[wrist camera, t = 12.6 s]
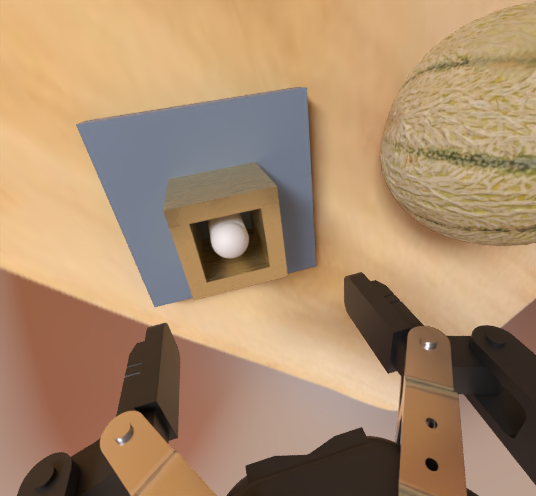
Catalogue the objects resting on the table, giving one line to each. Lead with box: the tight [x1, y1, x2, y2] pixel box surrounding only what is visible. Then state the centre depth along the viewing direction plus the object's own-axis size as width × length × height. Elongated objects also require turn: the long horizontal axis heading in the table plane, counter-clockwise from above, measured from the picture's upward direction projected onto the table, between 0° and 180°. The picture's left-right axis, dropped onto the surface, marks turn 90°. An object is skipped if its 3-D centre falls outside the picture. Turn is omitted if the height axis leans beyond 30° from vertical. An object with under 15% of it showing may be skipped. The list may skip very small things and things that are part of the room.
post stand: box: [76, 87, 316, 307], centre depth 21 cm, size 15×15×8 cm
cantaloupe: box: [380, 1, 536, 246], centre depth 20 cm, size 15×15×15 cm
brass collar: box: [163, 162, 288, 300], centre depth 21 cm, size 6×6×6 cm
